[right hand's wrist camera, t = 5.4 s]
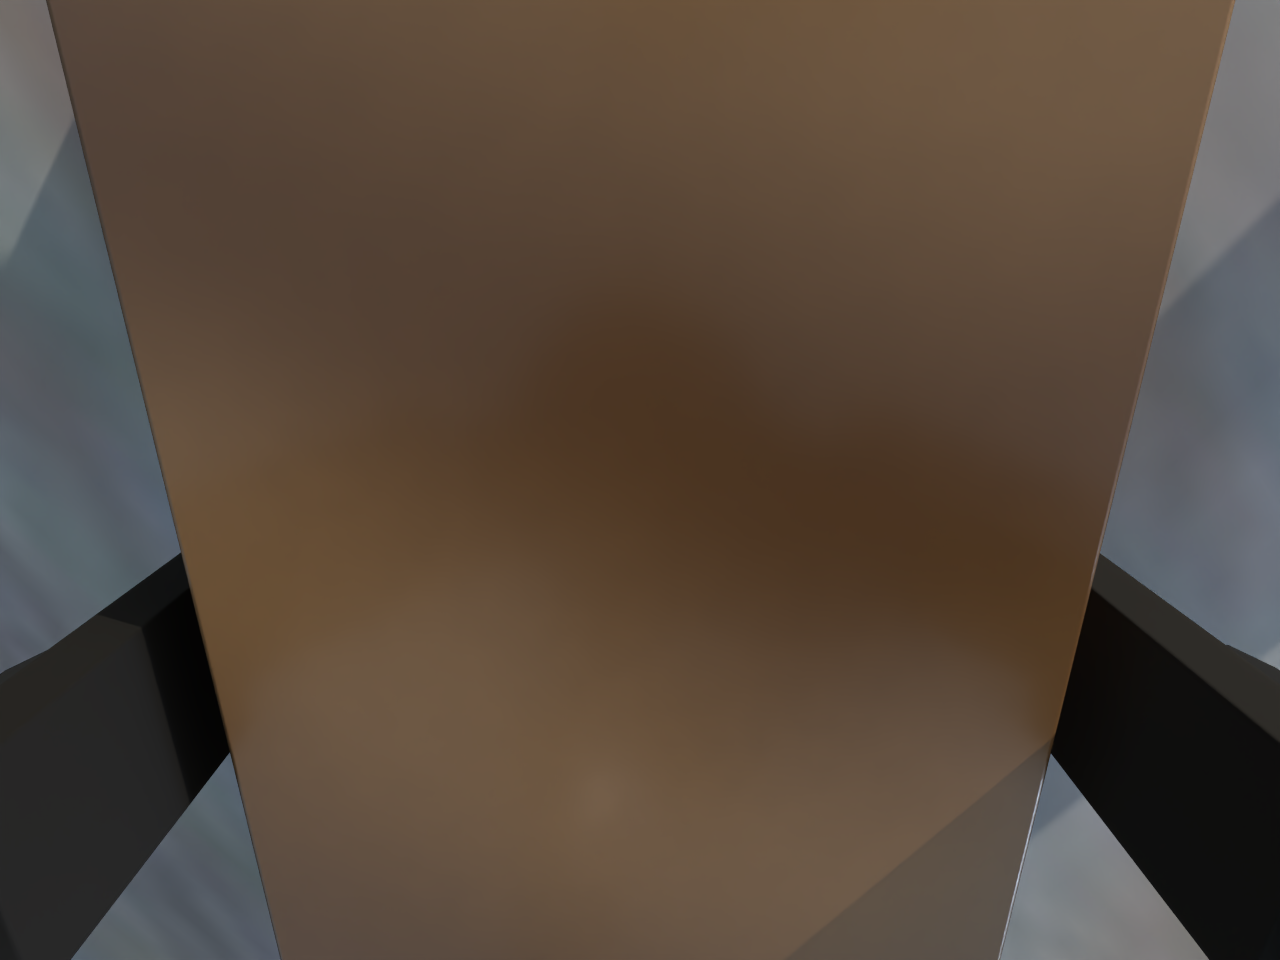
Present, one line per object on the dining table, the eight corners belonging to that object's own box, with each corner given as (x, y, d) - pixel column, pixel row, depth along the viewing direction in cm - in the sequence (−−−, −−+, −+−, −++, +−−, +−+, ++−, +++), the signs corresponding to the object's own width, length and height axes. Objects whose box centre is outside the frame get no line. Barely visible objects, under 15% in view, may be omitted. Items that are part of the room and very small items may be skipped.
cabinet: (335, -330, 12) (-345, -1563, 4) (944, -330, 12) (1625, -1560, 4) (443, 641, 18) (284, 983, 10) (837, 641, 18) (997, 983, 10)
